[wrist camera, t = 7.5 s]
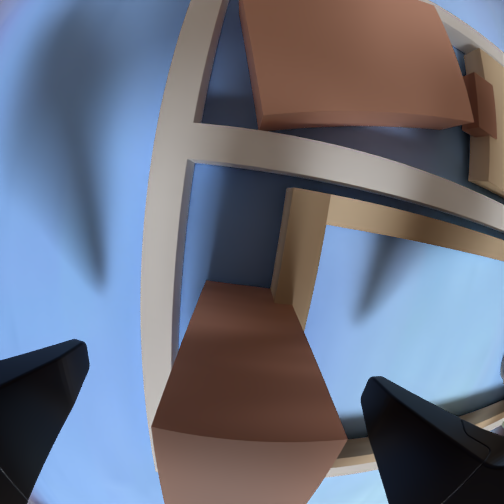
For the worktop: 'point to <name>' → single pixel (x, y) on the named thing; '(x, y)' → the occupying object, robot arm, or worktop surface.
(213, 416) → the tan rectangular frame
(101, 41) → the worktop surface
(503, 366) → the coffee cup
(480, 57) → the tan long flat piece
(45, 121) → the worktop surface
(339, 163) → the lane tray
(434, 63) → the reddish brown block
